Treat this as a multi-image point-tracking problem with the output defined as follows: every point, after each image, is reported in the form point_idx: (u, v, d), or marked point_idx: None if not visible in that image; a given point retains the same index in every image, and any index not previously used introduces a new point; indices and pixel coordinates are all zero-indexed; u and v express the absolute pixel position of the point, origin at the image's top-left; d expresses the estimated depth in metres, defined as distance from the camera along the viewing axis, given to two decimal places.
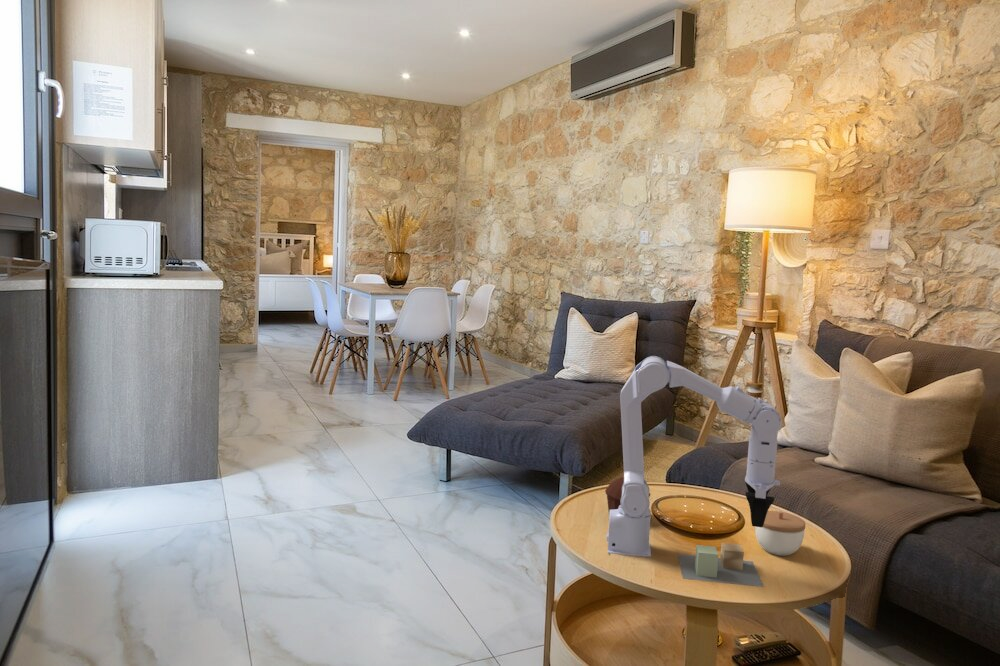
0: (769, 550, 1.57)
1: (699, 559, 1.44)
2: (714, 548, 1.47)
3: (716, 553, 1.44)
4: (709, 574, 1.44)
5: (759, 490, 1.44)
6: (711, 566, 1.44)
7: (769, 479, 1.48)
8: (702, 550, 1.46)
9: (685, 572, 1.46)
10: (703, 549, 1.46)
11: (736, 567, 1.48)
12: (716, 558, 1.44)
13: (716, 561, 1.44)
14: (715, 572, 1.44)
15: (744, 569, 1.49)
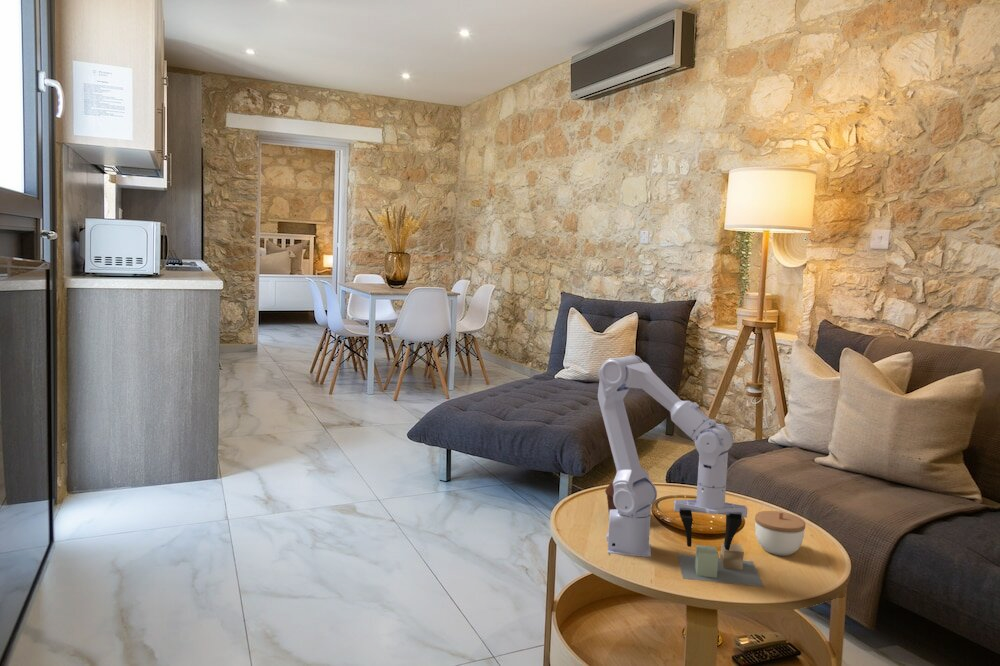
0: (769, 550, 1.57)
1: (699, 559, 1.44)
2: (714, 548, 1.47)
3: (716, 553, 1.44)
4: (709, 574, 1.44)
5: (674, 502, 1.46)
6: (711, 566, 1.44)
7: (700, 502, 1.43)
8: (702, 550, 1.46)
9: (685, 572, 1.46)
10: (703, 549, 1.46)
11: (736, 567, 1.48)
12: (716, 558, 1.44)
13: (716, 561, 1.44)
14: (715, 572, 1.44)
15: (744, 569, 1.49)
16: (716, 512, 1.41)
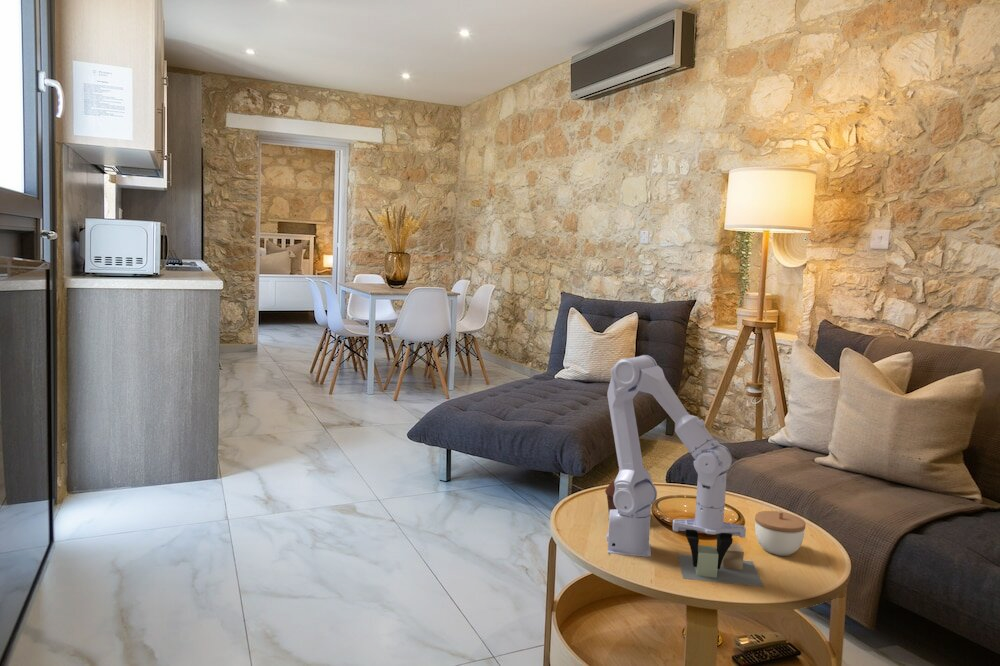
0: (769, 550, 1.57)
1: (699, 559, 1.44)
2: (714, 548, 1.47)
3: (716, 553, 1.44)
4: (709, 574, 1.44)
5: (673, 521, 1.47)
6: (711, 566, 1.44)
7: (699, 522, 1.44)
8: (702, 550, 1.46)
9: (685, 572, 1.46)
10: (703, 549, 1.46)
11: (736, 567, 1.48)
12: (716, 558, 1.44)
13: (716, 561, 1.44)
14: (715, 572, 1.44)
15: (744, 569, 1.49)
16: (714, 532, 1.41)
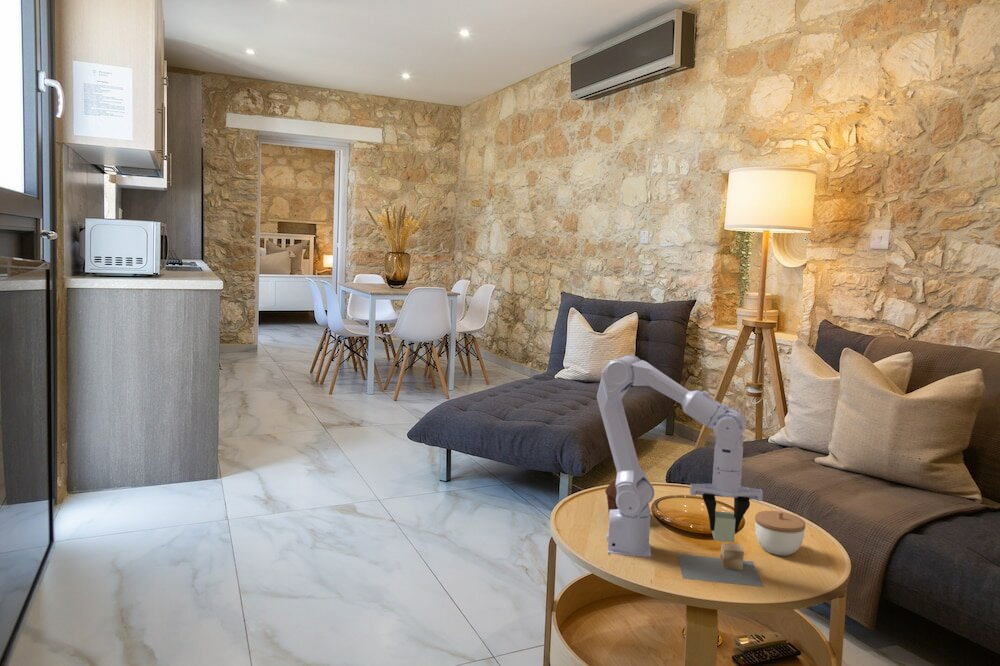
0: (769, 550, 1.57)
1: (716, 524, 1.46)
2: (731, 514, 1.48)
3: (733, 518, 1.45)
4: (727, 539, 1.46)
5: (690, 485, 1.48)
6: (728, 531, 1.45)
7: (716, 486, 1.45)
8: (720, 515, 1.47)
9: (685, 572, 1.46)
10: (720, 514, 1.47)
11: (736, 567, 1.48)
12: (733, 523, 1.45)
13: (733, 526, 1.45)
14: (732, 537, 1.45)
15: (744, 569, 1.49)
16: (732, 495, 1.43)
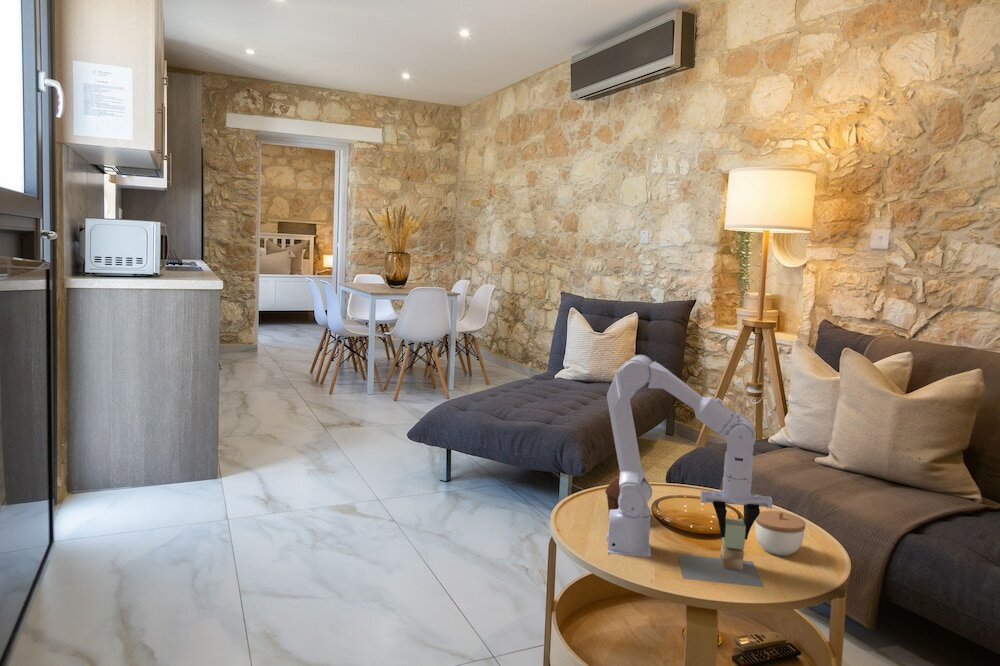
0: (769, 550, 1.57)
1: (727, 531, 1.48)
2: (741, 521, 1.50)
3: (743, 525, 1.47)
4: (737, 545, 1.48)
5: (701, 493, 1.50)
6: (739, 537, 1.47)
7: (727, 493, 1.47)
8: (730, 522, 1.49)
9: (685, 572, 1.46)
10: (731, 521, 1.49)
11: (736, 567, 1.48)
12: (743, 530, 1.47)
13: (743, 533, 1.47)
14: (742, 544, 1.47)
15: (744, 569, 1.49)
16: (742, 503, 1.45)
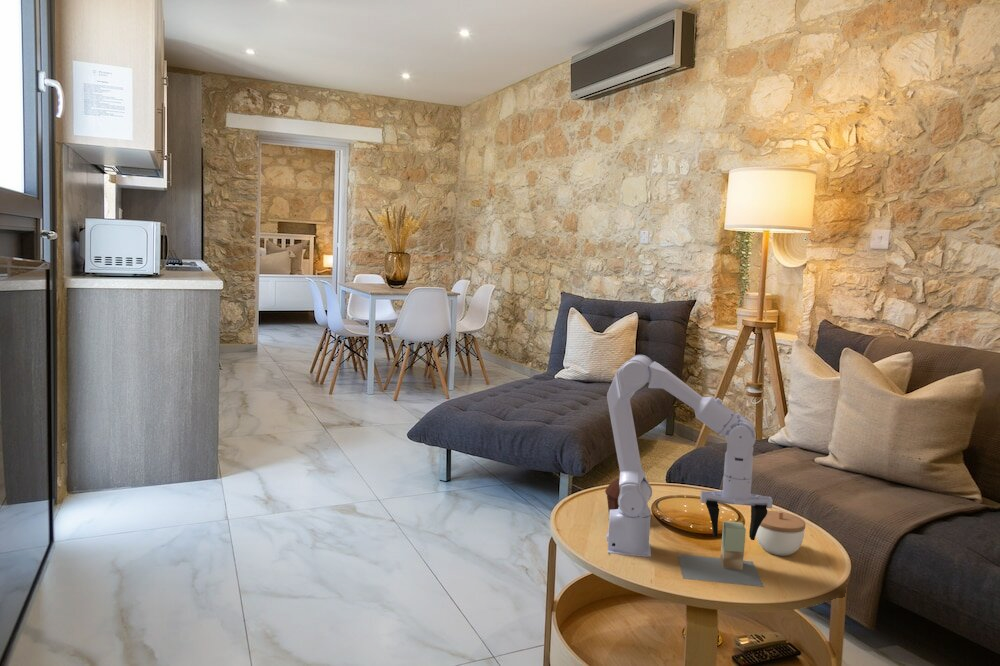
0: (769, 550, 1.57)
1: (727, 534, 1.48)
2: (741, 524, 1.50)
3: (743, 528, 1.48)
4: (737, 548, 1.48)
5: (701, 493, 1.50)
6: (738, 541, 1.48)
7: (727, 493, 1.47)
8: (730, 525, 1.49)
9: (685, 572, 1.46)
10: (730, 524, 1.50)
11: (736, 567, 1.48)
12: (743, 533, 1.47)
13: (743, 536, 1.47)
14: (742, 547, 1.48)
15: (744, 569, 1.49)
16: (742, 503, 1.45)
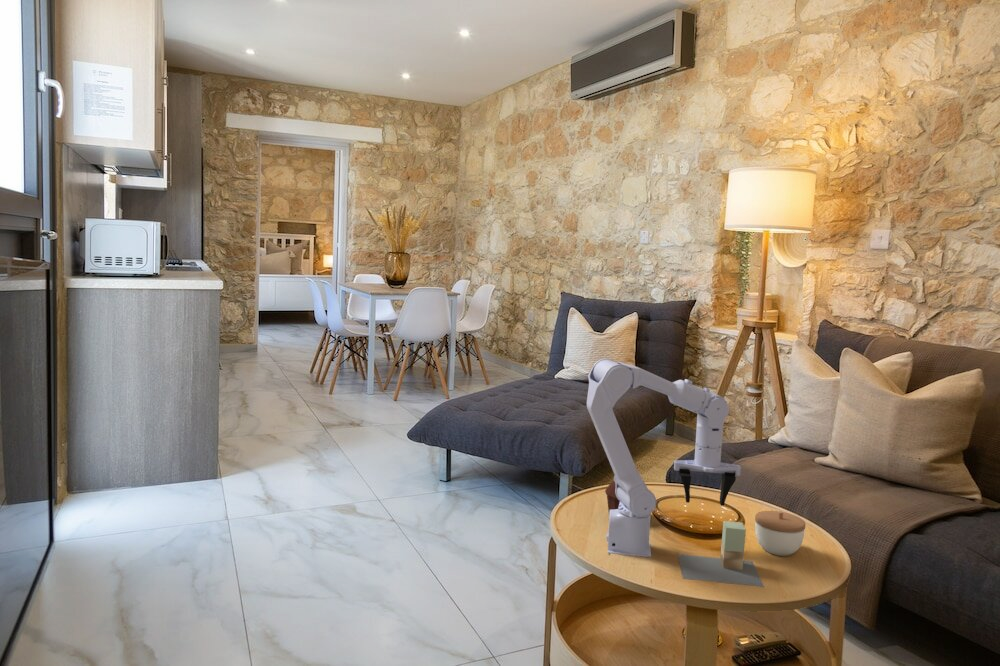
0: (769, 550, 1.57)
1: (727, 534, 1.48)
2: (741, 524, 1.50)
3: (743, 528, 1.48)
4: (737, 548, 1.48)
5: (674, 462, 1.60)
6: (738, 541, 1.48)
7: (698, 462, 1.57)
8: (730, 525, 1.49)
9: (685, 572, 1.46)
10: (730, 524, 1.50)
11: (736, 567, 1.48)
12: (743, 533, 1.47)
13: (743, 536, 1.47)
14: (742, 547, 1.48)
15: (744, 569, 1.49)
16: (712, 470, 1.55)
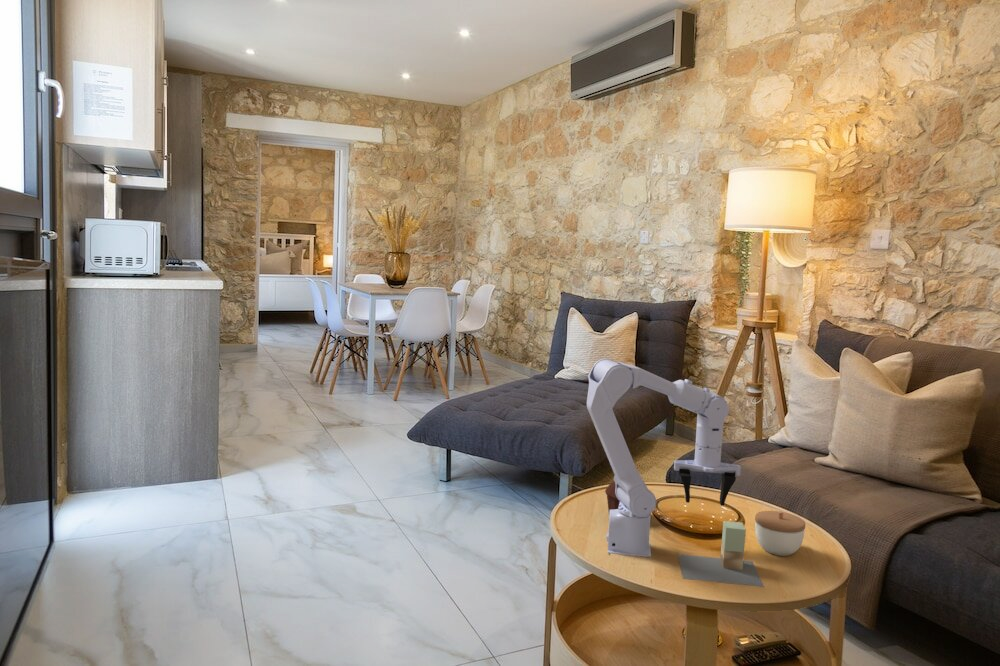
0: (769, 550, 1.57)
1: (727, 534, 1.48)
2: (741, 524, 1.50)
3: (743, 528, 1.48)
4: (737, 548, 1.48)
5: (674, 462, 1.60)
6: (738, 541, 1.48)
7: (698, 462, 1.57)
8: (730, 525, 1.49)
9: (685, 572, 1.46)
10: (730, 524, 1.50)
11: (736, 567, 1.48)
12: (743, 533, 1.47)
13: (743, 536, 1.47)
14: (742, 547, 1.48)
15: (744, 569, 1.49)
16: (712, 470, 1.55)
